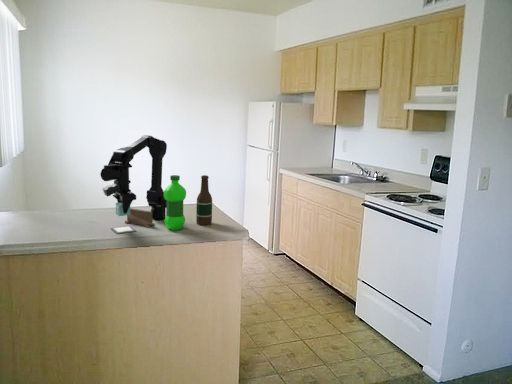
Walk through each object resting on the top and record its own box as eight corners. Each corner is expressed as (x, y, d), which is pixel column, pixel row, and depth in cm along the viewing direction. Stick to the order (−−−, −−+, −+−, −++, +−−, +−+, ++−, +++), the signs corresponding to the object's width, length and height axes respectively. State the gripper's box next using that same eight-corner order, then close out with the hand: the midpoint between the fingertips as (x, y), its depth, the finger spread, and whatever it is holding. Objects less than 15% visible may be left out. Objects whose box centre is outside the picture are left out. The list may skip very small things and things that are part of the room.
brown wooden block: (131, 220, 219) (131, 207, 218) (154, 225, 213) (154, 211, 212) (124, 223, 215) (124, 209, 213) (147, 227, 209) (147, 213, 207)
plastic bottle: (161, 226, 212) (161, 174, 207) (183, 224, 216) (183, 173, 211) (166, 232, 203) (165, 178, 198) (188, 230, 207) (189, 177, 202)
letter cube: (126, 212, 205) (126, 201, 204) (130, 214, 201) (130, 203, 200) (115, 213, 202) (115, 202, 201) (119, 216, 198) (118, 205, 197)
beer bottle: (214, 223, 221) (215, 175, 216) (206, 226, 214) (207, 177, 209) (201, 220, 224) (202, 173, 219) (193, 224, 217) (193, 175, 213)
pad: (129, 226, 209) (129, 225, 209) (136, 231, 202) (136, 230, 202) (110, 229, 204) (110, 228, 204) (116, 234, 197) (116, 233, 197)
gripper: (98, 176, 201) (99, 209, 204) (110, 182, 186) (111, 218, 189) (122, 174, 208) (123, 207, 211) (136, 181, 193) (137, 216, 196)
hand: (123, 212), depth 201 cm, fingers closed on letter cube, 5 cm apart
